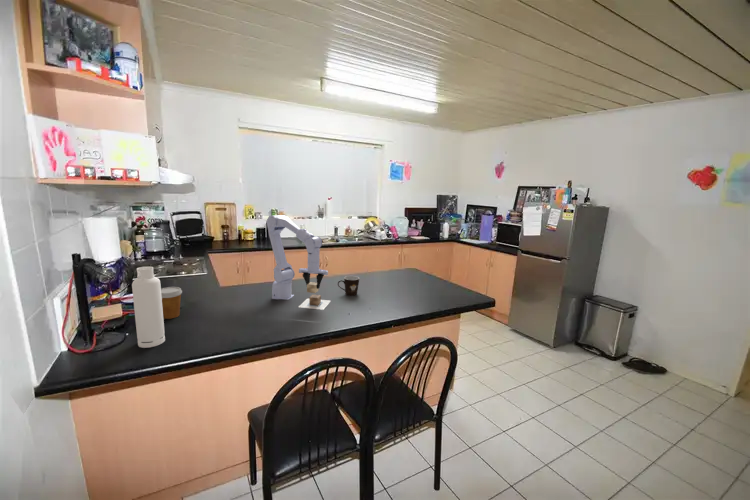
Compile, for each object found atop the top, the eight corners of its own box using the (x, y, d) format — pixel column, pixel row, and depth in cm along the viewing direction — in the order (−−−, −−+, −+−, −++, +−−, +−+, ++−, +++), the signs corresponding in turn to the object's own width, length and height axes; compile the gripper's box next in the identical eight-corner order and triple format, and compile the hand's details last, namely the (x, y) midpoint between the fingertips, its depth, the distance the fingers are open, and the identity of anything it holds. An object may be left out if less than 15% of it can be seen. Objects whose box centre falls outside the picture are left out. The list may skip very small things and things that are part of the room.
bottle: (133, 343, 112) (126, 268, 107) (158, 335, 119) (152, 264, 114) (144, 349, 108) (136, 272, 103) (169, 341, 115) (163, 268, 110)
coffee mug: (359, 293, 179) (360, 276, 177) (357, 298, 171) (358, 280, 169) (340, 291, 180) (340, 274, 178) (336, 296, 172) (337, 279, 170)
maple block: (306, 292, 153) (307, 284, 152) (310, 289, 158) (310, 281, 157) (315, 293, 152) (315, 285, 152) (318, 290, 157) (318, 282, 156)
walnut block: (309, 304, 156) (309, 297, 155) (312, 301, 160) (312, 294, 159) (318, 305, 155) (318, 298, 154) (320, 302, 160) (320, 295, 159)
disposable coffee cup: (188, 314, 139) (187, 288, 137) (168, 322, 130) (166, 294, 128) (173, 310, 142) (171, 285, 140) (152, 318, 133) (150, 291, 131)
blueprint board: (298, 308, 152) (298, 306, 152) (307, 299, 165) (307, 298, 165) (323, 310, 151) (323, 309, 150) (330, 301, 163) (331, 300, 163)
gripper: (296, 261, 150) (296, 288, 152) (325, 264, 148) (324, 291, 150) (301, 258, 156) (301, 284, 159) (329, 261, 154) (329, 287, 157)
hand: (313, 287), depth 155 cm, fingers closed on maple block, 5 cm apart
